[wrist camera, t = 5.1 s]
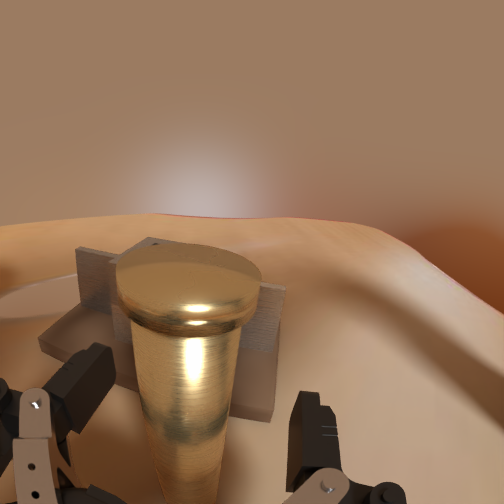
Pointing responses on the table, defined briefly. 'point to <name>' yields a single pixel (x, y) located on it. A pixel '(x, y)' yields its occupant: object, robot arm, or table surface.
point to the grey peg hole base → (102, 331)
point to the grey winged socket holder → (105, 300)
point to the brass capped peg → (186, 355)
